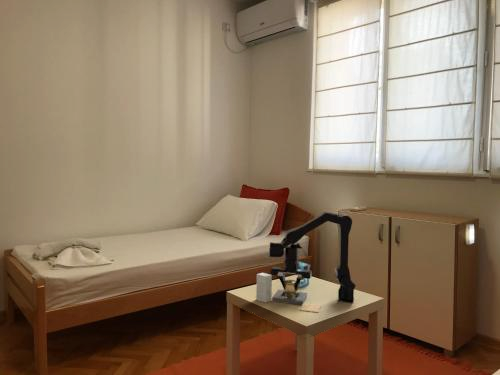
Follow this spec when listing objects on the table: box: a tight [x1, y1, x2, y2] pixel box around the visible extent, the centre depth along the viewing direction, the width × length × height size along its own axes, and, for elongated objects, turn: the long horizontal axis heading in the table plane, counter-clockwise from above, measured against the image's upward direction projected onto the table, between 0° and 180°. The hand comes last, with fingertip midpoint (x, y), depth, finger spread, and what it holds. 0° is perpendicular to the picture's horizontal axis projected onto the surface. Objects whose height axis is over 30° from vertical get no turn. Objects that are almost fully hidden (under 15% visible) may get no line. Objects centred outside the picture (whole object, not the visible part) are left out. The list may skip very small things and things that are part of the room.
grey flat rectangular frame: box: [271, 289, 308, 306], centre depth 188 cm, size 14×12×2 cm
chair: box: [297, 261, 311, 288], centre depth 210 cm, size 8×8×12 cm
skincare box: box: [255, 272, 273, 304], centre depth 185 cm, size 6×4×12 cm
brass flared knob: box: [284, 279, 297, 299], centre depth 188 cm, size 6×6×7 cm
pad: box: [299, 302, 322, 314], centre depth 176 cm, size 8×8×1 cm
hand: (290, 290), depth 188 cm, fingers closed on brass flared knob, 5 cm apart
